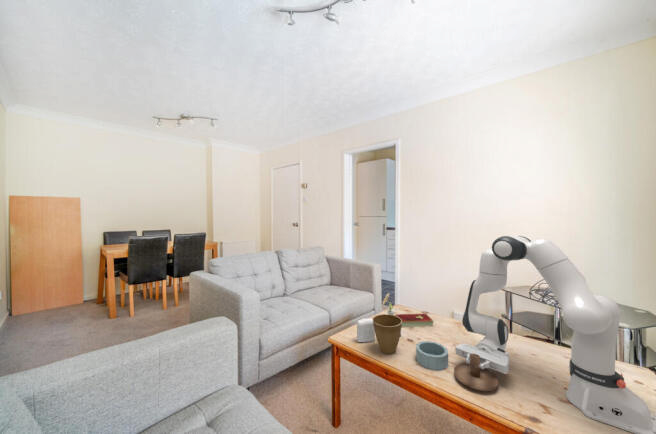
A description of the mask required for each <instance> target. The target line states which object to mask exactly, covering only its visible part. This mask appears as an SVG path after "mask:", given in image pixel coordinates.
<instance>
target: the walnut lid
mask: <svg viewBox="0 0 656 434" xmlns="http://www.w3.org/2000/svg"><path fill="white" fill-rule="evenodd" d="M479 363H480V356H479V355H477V354H470V364H469V363H459V364H457V365H456V366H455V367H454V368H453V373H454V376H455V378H456V379H457V381H459V382H460V383H462V384H463V385H464V386H466V387H469V388H471V389H474V390H477V391H482V392H490V391H494V390H497V389H498V387H499V379H498V377H497V376H496V374H495V373H493V372H492V371H491V370H489V368H484V369H481V368H479Z"/></svg>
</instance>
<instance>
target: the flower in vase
mask: <svg viewBox="0 0 656 434" xmlns="http://www.w3.org/2000/svg"><path fill="white" fill-rule="evenodd" d="M389 297H390V293H387V294H385V298H383V301H382V306H385V304H386V303H387V302H388V304H389V305H388V309H386V313H387V314H389V315H394V316H395V312H396V310H395V309H393V305H392V302H390V301H389V300H388V299H389ZM401 334H402V332H401V333H400V335H401Z"/></svg>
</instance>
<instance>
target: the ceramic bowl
mask: <svg viewBox="0 0 656 434" xmlns="http://www.w3.org/2000/svg"><path fill="white" fill-rule="evenodd" d="M415 345H416V346H415V353H416V356H415V357H416V359H415V360H416V362H417V363H418V364H419V365H420V366H422V367H424V368H425V369H427V370H432V371H443V370H446V369H447V368H448V367H449V351H448V350H449V349H448V348H447V347H446V346H445V345H443V344H441V343H439V342H436V341H429V340H425V341H420V342H418V343H416V344H415Z"/></svg>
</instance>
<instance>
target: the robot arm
mask: <svg viewBox="0 0 656 434" xmlns="http://www.w3.org/2000/svg"><path fill="white" fill-rule="evenodd" d="M480 255H481V256H480V261H479V269H478V270H479V273H478V277H477V278H476V279H474V280H473V281H472V282H471V284H470V287H469V291H468V296H467V300H466V306H465V309H464V313H463V316H462V323H461V324H462V325H463V327H464V328H465V330H466V331H467V332H469V333H473V334H478V335H481V336H484V337H483V338H482V339H481V340H480V341H479V342H478V343H476V344H475V345H472V344H470V343H467V342H460V343H459V344H457V345H456V346H455V354H456V355H457V356H459V357H461V358H464V359H466V360H465V362H466V363H467V364H470V354H477V355H479V356H480V363H479V368H481V369H484V368H486V369H492V370H493V371H497V372H499V373H502V374H505V375H507V374H508V373H509V371H510V355H509V352H507V351H506V348H507V344H508V343H507V342H508V340H509V328H508V325H507V323H506V322H505V321H504V320H503V319H502V318H499V317H495V316H492V315H487V314H483V313H480V312H478V311H477V308H478V303H479V300H480V296H481V295H482V294H486V293H494V292H498V291H501V290H503V289H504V288H505V287H506V286H507V283H508V282H507V281H508V265H509V263H510V262H511V261H520V260H525V259H526V260H528V261H529V262H530V263H531V264H532V266H533V267H534V268H535V269H536V270H537V272H538V274H540V275H541V277H542V278H543V280H544V281H545V282H546V284H547V285H548V287H549V288H550V289H551V290H552V291H551V292H552V293H553V295H554V298H556V301H557V303H558V305H559V307H560V309H561V312H562V319H563V321H564V323H565V324H566V326H567V327H568V328H570V329H571V330H572V331H573V333H572V336H571V339H570V354H571V356H570V360H569V365H568V366H569V367H568V371H569V374H570V377H569V383H568V387H567V389H566V392H565V397H566V399H567V400H568V401H569V402H570V403H571V404H572V405H574V406H575V407H576V408H577V409H580V411H581V412H582V414H584V415H585V416H586V417H588V418H590V419H593V420H594V421H595V420H596V421H598V422H601V423H604V424H607V425H610V426H613V427H616V428H618V429H621V430H623V431H627V432H629V433H633V434H656V416H654V415H653V413H651V412H650V409H649V407H648V405H647V403H646V402H645V401H644V400H643V398H641V397H640V396H639V395H638V394H637V393H635V392H634V391H632V390H631V389H630V388H629V387H627V383H626V382H625V377H624V375H623V373H622V372H620V373H619V372H617V371H616V346H617V341H618V334H619V327H620V326H619V325H620V317H621V316H620V315H621V309H620V306H619V305H618V304H617V303H616V301H614V300H613V299H611V298H609V297H608V296H605V295H599V294H593V293H592V292H591V290H590V287H589V286H588V284H587V280H586V277H585V276H584V275H583V273H582V272H581V271H580V270H579V269H578V268H577V267H576V265H575V264H574V263H573V262H572V260H570V259H569V257H568V256H567V255H566V253H564V251H563V250H561V249H560V247H558V246H557V245H556V244H554V242H553V241H551V240H549V239H546V238H538V239H537V238H536V239H535V240H532V241H531V239H529V238H527V237H525V236H524V235H523V236H522V235H515V234H514V235H513V234H511V235H503V236H500V237H497V238H495V240H494V241H493V242H492V245H491V248H488V249H484V250H483V252H482V253H481V254H480Z"/></svg>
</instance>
